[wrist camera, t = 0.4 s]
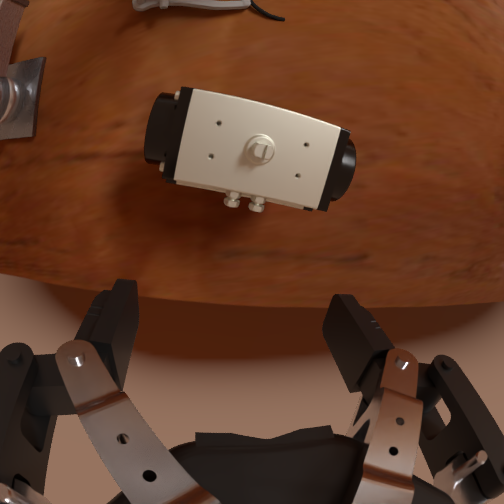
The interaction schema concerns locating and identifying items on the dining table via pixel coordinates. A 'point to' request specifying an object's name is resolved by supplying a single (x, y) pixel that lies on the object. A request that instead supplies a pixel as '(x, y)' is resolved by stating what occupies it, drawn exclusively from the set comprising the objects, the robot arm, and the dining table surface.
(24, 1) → the elbow
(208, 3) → the bike brake
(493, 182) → the dining table surface
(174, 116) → the ball valve
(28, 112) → the duct stub
